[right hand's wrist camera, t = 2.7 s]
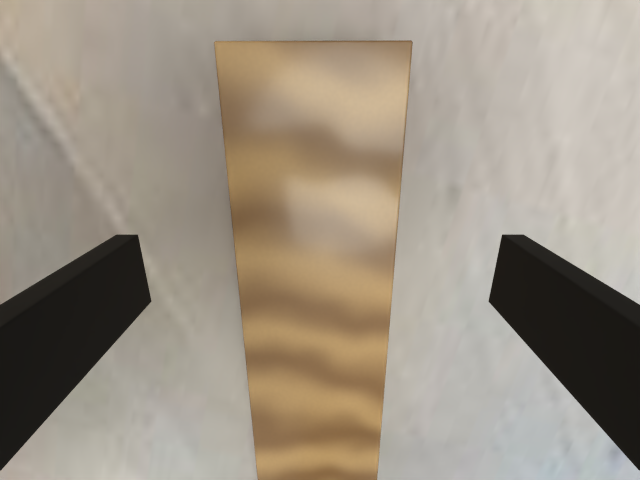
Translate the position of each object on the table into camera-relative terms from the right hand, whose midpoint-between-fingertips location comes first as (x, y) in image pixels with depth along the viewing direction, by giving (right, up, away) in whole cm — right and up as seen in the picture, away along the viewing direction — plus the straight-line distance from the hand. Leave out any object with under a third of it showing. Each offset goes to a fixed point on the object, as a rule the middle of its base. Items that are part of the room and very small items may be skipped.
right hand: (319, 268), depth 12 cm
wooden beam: (0, -22, +23) cm, 32 cm away
